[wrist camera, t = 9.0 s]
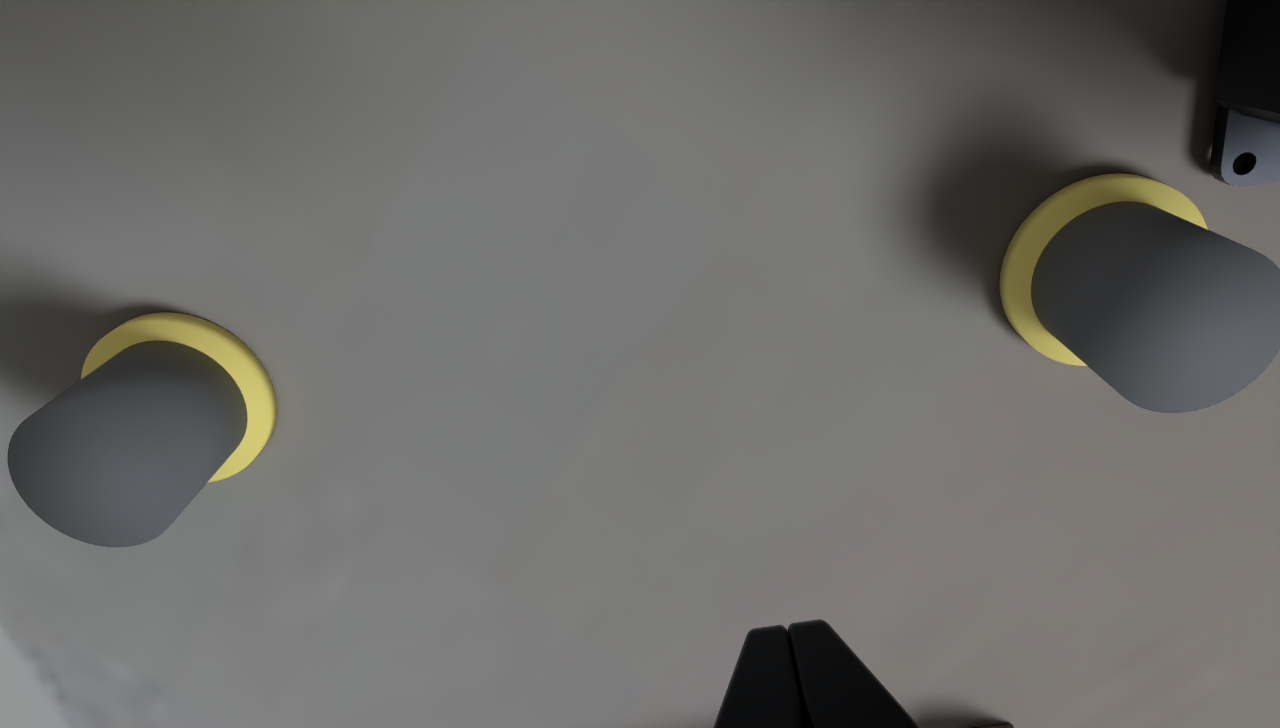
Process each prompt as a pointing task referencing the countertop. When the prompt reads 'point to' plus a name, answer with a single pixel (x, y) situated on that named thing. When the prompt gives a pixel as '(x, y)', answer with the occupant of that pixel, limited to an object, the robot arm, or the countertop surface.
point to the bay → (1000, 726)
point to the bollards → (1029, 289)
